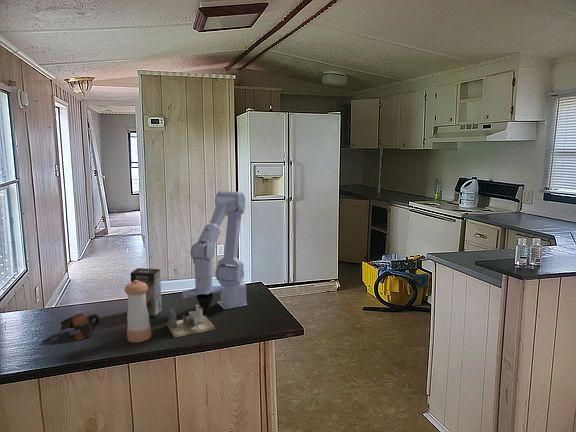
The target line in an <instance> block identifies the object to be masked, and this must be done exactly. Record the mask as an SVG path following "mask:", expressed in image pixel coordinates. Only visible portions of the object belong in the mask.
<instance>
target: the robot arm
mask: <svg viewBox="0 0 576 432" xmlns="http://www.w3.org/2000/svg"><path fill="white" fill-rule="evenodd" d="M214 204H215V207H214V211H213V213H212V217H211V220H210V222H209V223H208V224H206V225H205V226H204V228H203V230H202V232H201V234H200V236H199V238H198V240H197V242H195V243H193V244H192V245H191V248H190V254H189V255H190V257H191V258H192V259H191V260H192V263H193V265H194V277H195V278H194V281H195V282H194V283H195V286H194V287H195V288H191V289H188V290H184V291H182V298H183V299H187V298H191V297H195V298H196V299H197V301H198V303H199V306H200V307H201V308H202V309H203V316H208V314H209V308H210V305H211V303H212V301H213V299H214V295H213V294H216V293H220V301H217V304H218V305H219V307H221V308H222V309H223V310H228V309H234V308H238V307H239V308H240V307H244V306H248V303H247V286H246V283H245V282H244V281H243V279H244V277H245V271H244V263H243V262H242V261H241V260H240V259H239V258H238V254H239V245H240V244H239V243H240V234H241V232H240V231H241V221H242V215H243V214H244V213H245V209H246V208H245V206H246V197H245V194H244V193H243V192H242V191H227V190H226V191H224V190H223V191H222V190H219V191H218V192H217V193H216V194H215V197H214ZM226 216H227V223H226V231H225V232H226V233H225V241H224V243H225V244H224V254H223V257H222V258H221V259H219V260H218V261H217V265H216V268H215V272H214V274H215V275H214V276H215V279H216V280H217V281H218V284H220V285H213V272H212V268H213V267H212V264H213V263H212V259H213V258H214V256H215V252H216V251H215V250H216V242H217V240H218V238H219V236H220V234H221V230H220V226H221V225H222V223H223V221H224V219H225V218H226Z"/></svg>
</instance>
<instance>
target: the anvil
mask: <svg viewBox="0 0 576 432" xmlns="http://www.w3.org/2000/svg"><path fill="white" fill-rule="evenodd" d="M167 313H168V315H167V316H168V322H169V324H170V326H171V327H172V329H174V328H177V321H178V319H177V313H176V311H175V310H174V308H172V307H171V308H168V310H167Z"/></svg>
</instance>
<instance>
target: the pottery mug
mask: <svg viewBox="0 0 576 432" xmlns="http://www.w3.org/2000/svg"><path fill="white" fill-rule="evenodd" d="M93 319H95V322H94V323H93ZM100 323H101V317H100V315H99V314H97V313H92V314H90V315H85V313H84V312H80V313H76V314H75V315H72V316H70V317H68V318H66V319H64V320H62V321H61V322H60V325H61V326H60V332H63V330H67V329H73V330H75V331H78V330H79V332H78V333H76V334H74V338H75V339H76V342H79V341H82V340H84V339H86V338H88V337H91V336H93V335H94V330H95V329H96V327H98V326H99V325H100Z"/></svg>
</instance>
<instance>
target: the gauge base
mask: <svg viewBox="0 0 576 432" xmlns="http://www.w3.org/2000/svg"><path fill="white" fill-rule="evenodd" d="M166 324H167V325H166V326H167V327H168V330H169V331H170V333H171V335H172V336H173V337H174V339H175V338H181V337H183V336H190V335H195V334H200V333H206V332H210V331H215V330H216V329H215V328H216V327H215V325H214V324H213V323H212V321H210V320H209V318H208V317H207V315H205V316H204V315H203V322H199V323H197V324H195V325H190V321H189V320H188V321H186V322H185V323H184V322H183V319H180V320H177V328H174V329H172V327H171V326H170V324H169V321H168V322H166Z"/></svg>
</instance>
